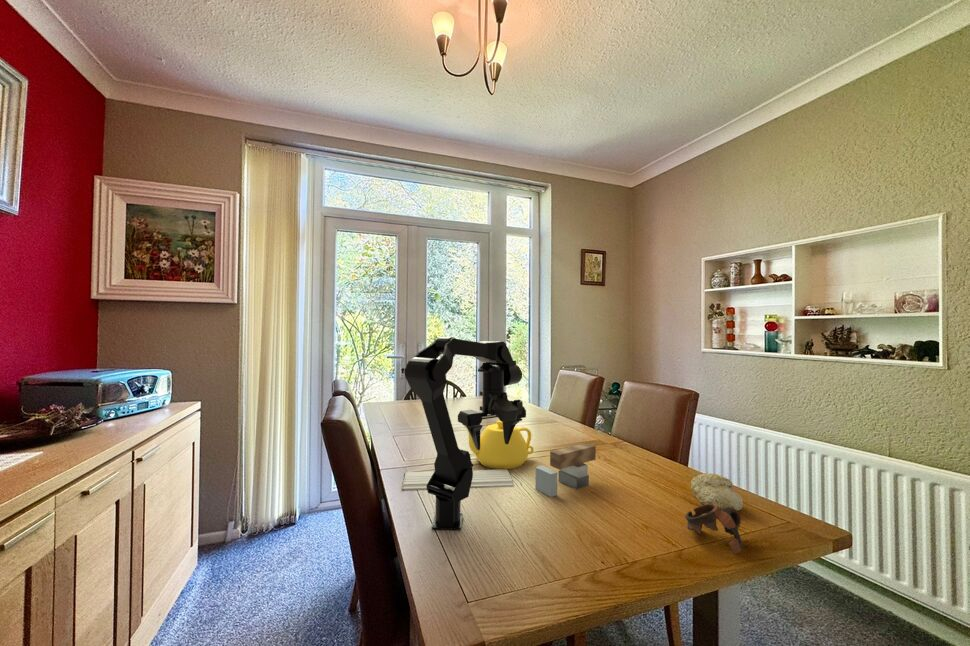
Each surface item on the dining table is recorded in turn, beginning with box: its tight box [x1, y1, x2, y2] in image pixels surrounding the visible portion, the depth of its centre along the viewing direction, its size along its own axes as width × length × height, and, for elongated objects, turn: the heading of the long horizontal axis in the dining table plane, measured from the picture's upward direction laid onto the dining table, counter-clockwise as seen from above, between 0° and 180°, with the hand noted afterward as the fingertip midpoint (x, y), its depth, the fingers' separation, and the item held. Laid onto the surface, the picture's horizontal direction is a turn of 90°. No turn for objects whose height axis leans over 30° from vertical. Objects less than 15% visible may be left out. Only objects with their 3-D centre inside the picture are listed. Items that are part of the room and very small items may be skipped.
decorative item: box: [690, 472, 744, 512], centre depth 95 cm, size 12×9×10 cm
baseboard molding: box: [401, 469, 514, 491], centre depth 107 cm, size 31×3×12 cm
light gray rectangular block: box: [535, 465, 558, 498], centre depth 101 cm, size 2×6×6 cm, turn 34°
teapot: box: [463, 419, 534, 470], centre depth 124 cm, size 25×18×14 cm
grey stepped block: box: [558, 463, 590, 491], centre depth 107 cm, size 5×7×6 cm
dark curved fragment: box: [684, 504, 744, 555], centre depth 79 cm, size 12×10×8 cm
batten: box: [549, 442, 597, 471], centre depth 107 cm, size 15×4×4 cm, turn 124°
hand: (492, 446), depth 98 cm, fingers open, 9 cm apart
